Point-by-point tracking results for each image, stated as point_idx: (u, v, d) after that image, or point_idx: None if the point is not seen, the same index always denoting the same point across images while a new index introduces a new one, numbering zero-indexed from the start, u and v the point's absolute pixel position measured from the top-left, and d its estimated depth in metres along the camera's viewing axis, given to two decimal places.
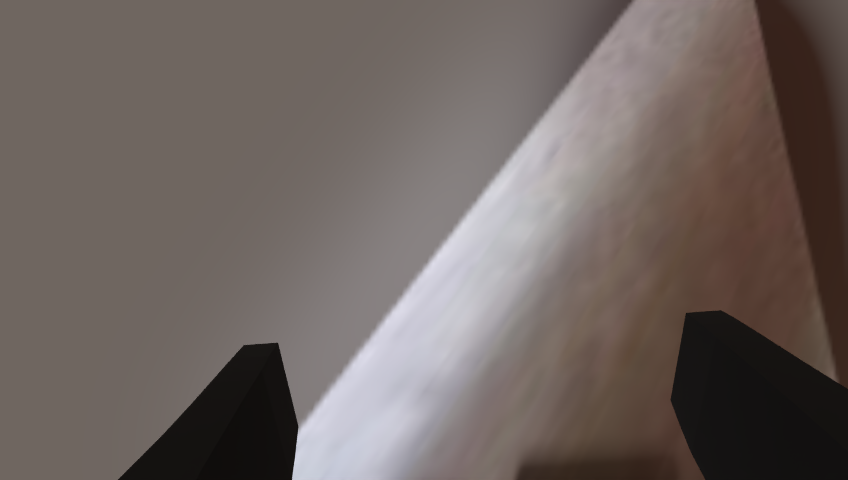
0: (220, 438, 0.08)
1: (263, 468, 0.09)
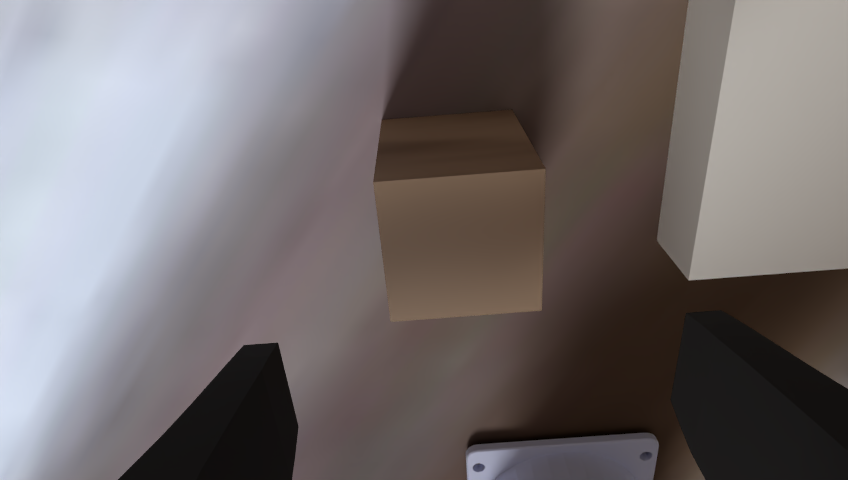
0: (220, 438, 0.08)
1: (263, 468, 0.09)
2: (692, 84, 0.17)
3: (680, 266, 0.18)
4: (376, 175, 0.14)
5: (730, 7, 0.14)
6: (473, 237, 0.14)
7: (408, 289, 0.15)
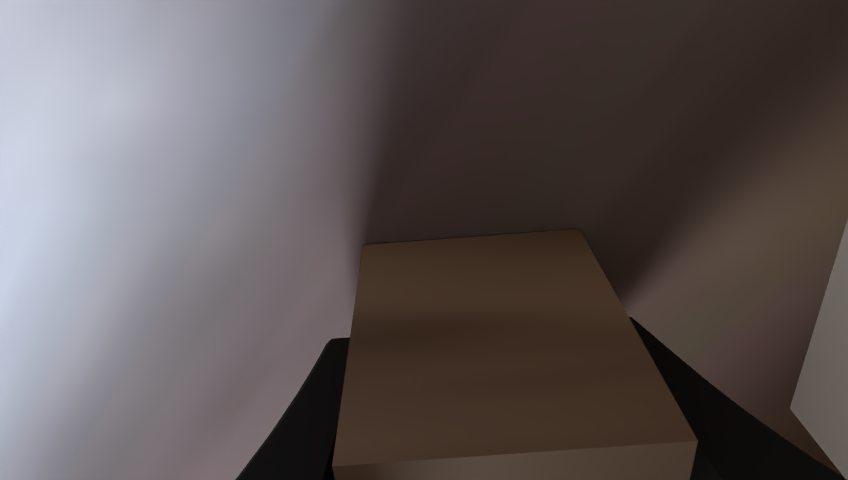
0: (336, 430, 0.08)
1: None
2: None
3: None
4: (340, 437, 0.07)
5: None
6: None
7: None
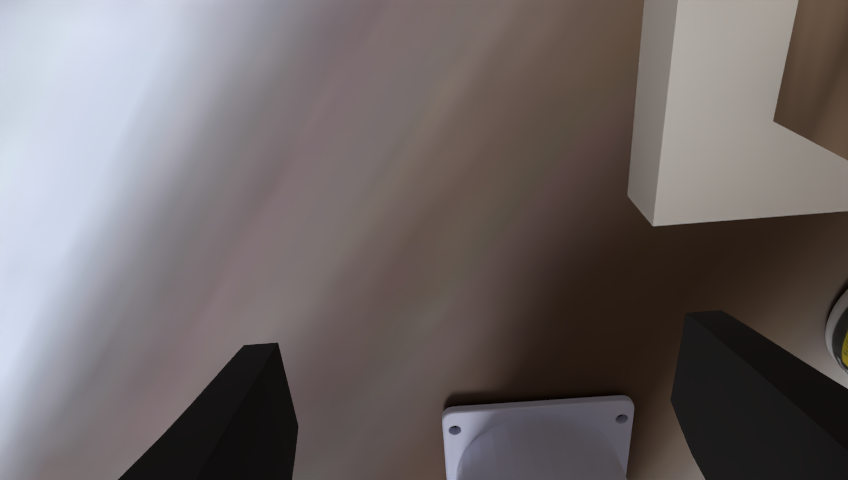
0: (220, 438, 0.08)
1: (263, 468, 0.09)
2: (652, 30, 0.17)
3: (645, 214, 0.19)
4: None
5: None
6: None
7: None
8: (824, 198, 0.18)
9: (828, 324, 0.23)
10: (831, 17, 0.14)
